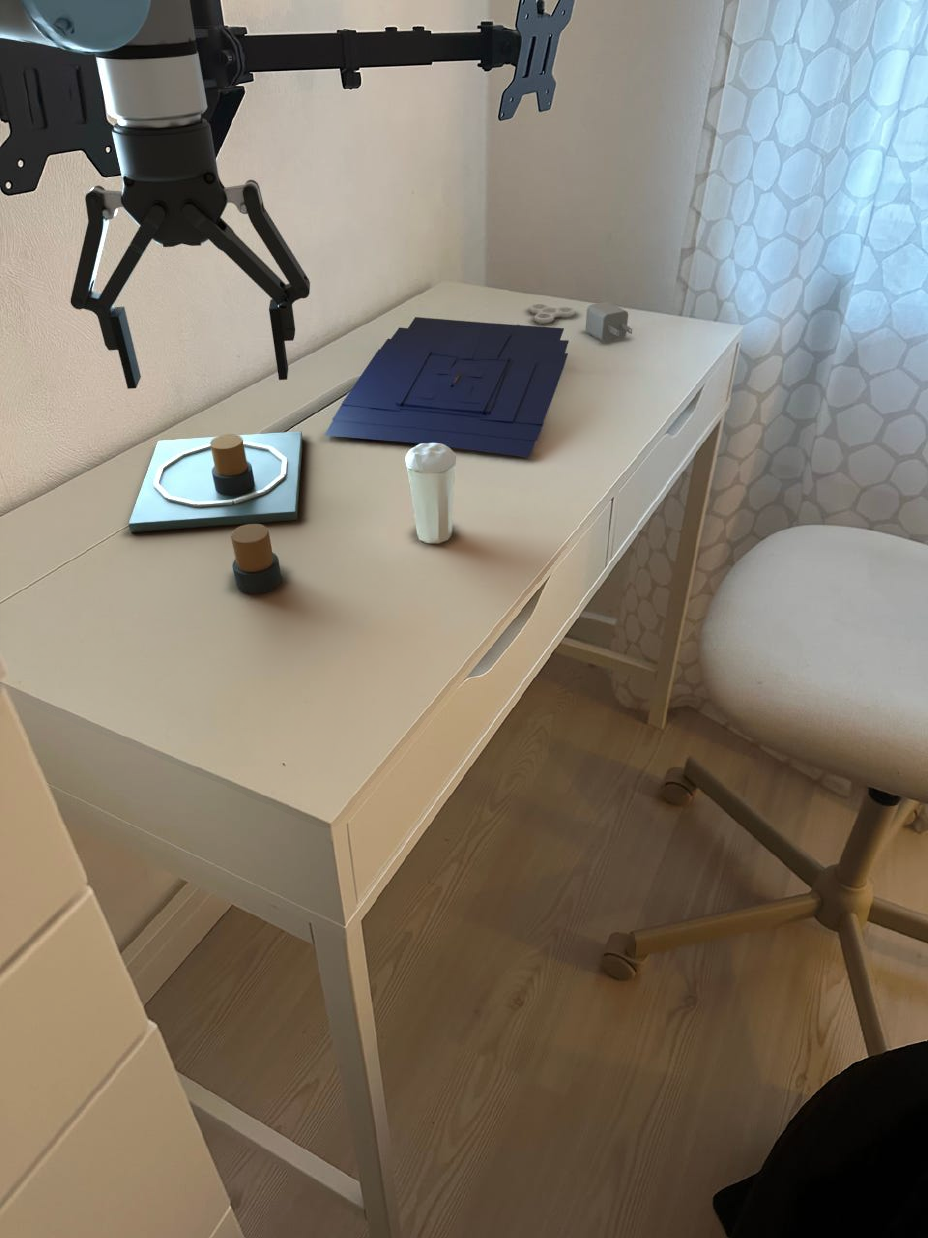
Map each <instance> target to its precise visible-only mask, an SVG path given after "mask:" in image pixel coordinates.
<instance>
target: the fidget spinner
mask: <svg viewBox="0 0 928 1238" xmlns="http://www.w3.org/2000/svg"><path fill="white" fill-rule="evenodd" d="M528 309H529V310H528V311H529V312H530V313H532V314H535V315H534V316H533V318H534V319H533V320H534V321H535V322H536V323H539V324H549V323H552V322H553V321H554V319H556V318H569V317H573V316H574V315H575V314H576V310H575V309H574V308H573V307H569V306H562V307H551V306H548V304H544V303H534V304H532V305H530V306H529V308H528Z"/></svg>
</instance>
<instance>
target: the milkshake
mask: <svg viewBox="0 0 928 1238" xmlns="http://www.w3.org/2000/svg"><path fill="white" fill-rule="evenodd" d="M404 462H405V466H406V472H407V478H408V482H409V490H410V496H411V502H412V509H413V515H414V523H415V530H416V534H417V537H418V539H419V541H422V542H423V543H426V544H442V543H443V542H446V541H448V540H449V539H450V538H451V536H452V535H453V534H452V533H453V515H454V497H455V496H454V495H455V480H456V479H455V478H456V464H457V455H456V452H454V450H452V449H451V447H447V446H446V445H444V444H440V443H418V444H417V445H415V446H413V447H412V448H410V449H409V450H408V452H407V453H406V455H405V458H404Z"/></svg>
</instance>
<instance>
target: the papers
mask: <svg viewBox="0 0 928 1238" xmlns="http://www.w3.org/2000/svg"><path fill="white" fill-rule="evenodd" d="M564 331H565V328H564V327H554V326H553V327H551V326H536V325H524V324H523V325H522V324H509V323H508V324H506V323H495V322H479V321H470V320H469V321H467V320H458V319H457V320H455V319H443V318H431V317H419V316H414V318H413V320H412V321H411V323H410V324H409V326H408V327H398V329H397V330H396V331H395V332H394V334H393V335H392V336H391V338H387V339H386V340H385V342H384V343H383V344H382V345H381V347H380V348H378V350H377V351H376V352H375V354H374V356H373V357H372V359H371V360H370V362H369V363H368V364H367V366H366V367H365V369H364V370H363V372H362V373H361V375H360V376H359V377H358V379H357V381H355V383H354V385H353V387H352V388H351V389H350V391H349V392H348V394H347V395H346V397H345V398H344V400H343V401H342V402H341V404H340V406H339V408H338V410H337V411H336V413H335V414H334V415H333V418H332V419H331V420H332V422H331V423H330V424H329V426H328V428H327V429H326V431H325V433H324V436H328V437H340V438H351V439H363V440H375V441H376V440H377V441H388V442H401V443H412V444H413V443H414V444H421V443H440V444H444V445H446V446H447V447H449V448H454V449H463V450H471V451H477V452H483V453H484V452H485V453H493V454H499V455H508V456H515V457H523V458H529V457H530V456H531V453H532V451H533V449H534V446H535V445H536V442H538V440H539V437H540V434H541V432H542V430H543V427H544V424H545V421H546V416H547V415H548V412H549V409H550V406H551V403H552V401H553V399H554V395H555V392H556V391H557V390H556V389H557V387H558V384H559V381H560V379H561V376H562V373H563V370H564V368H565V366H566V361H567V358H568V355H569V352H567V349H568V346H569V341H570V340H565V339H562V335H563V333H564ZM566 352H567V353H566Z"/></svg>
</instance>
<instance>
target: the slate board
mask: <svg viewBox="0 0 928 1238" xmlns="http://www.w3.org/2000/svg"><path fill="white" fill-rule="evenodd" d="M302 432H303V431H301V430H299V431H298V430H297V431H282V432H269V433H257V434H256V433H255V434H254V433H253V434H239V435H238V436H240V437H241V438H242V439H243V444H244V449H245V454H246V460H247V462H249V463H250V464H251V465H252V470H253V476H254V481H255V485H254V487H253V488H252V489H251V490H250V491H248V492H246V493H243V494H240V495H232V496H230V495H222V494H220V493H218V492H217V491H216V490H215V485H214V481H213V476H212V469H213V467H214V461H213V456H212V451H211V447H210V442H211V440H213V439H214V438H216V437H217V436H210V437H208V436H206V437H193V438H178V439H164V440H158V441H157V443H156V446H155V449H154V450H153V454H152V457H151V460H150V462H149V465H148V468H147V471H146V474H145V477H144V479H143V482H142V484H141V488H140V491H139V493H138V496H137V499H136V502H135V505H134V507H133V510H132V513H131V515H130V517H129V522H128V527H129V530H130V531H129V532H130V533H140V532H142V533H143V532H154V531H155V532H156V531H167V530H180V529H193V528H195V529H196V528H208V527H221V526H233V525H234V526H236V525H247V524H261V523H262V524H263V523H274V522H289V521H297V520H298V509H299V508H298V507H299V493H300V481H301V467H302V465H301V464H302V453H303V452H302V451H303V433H302Z"/></svg>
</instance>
